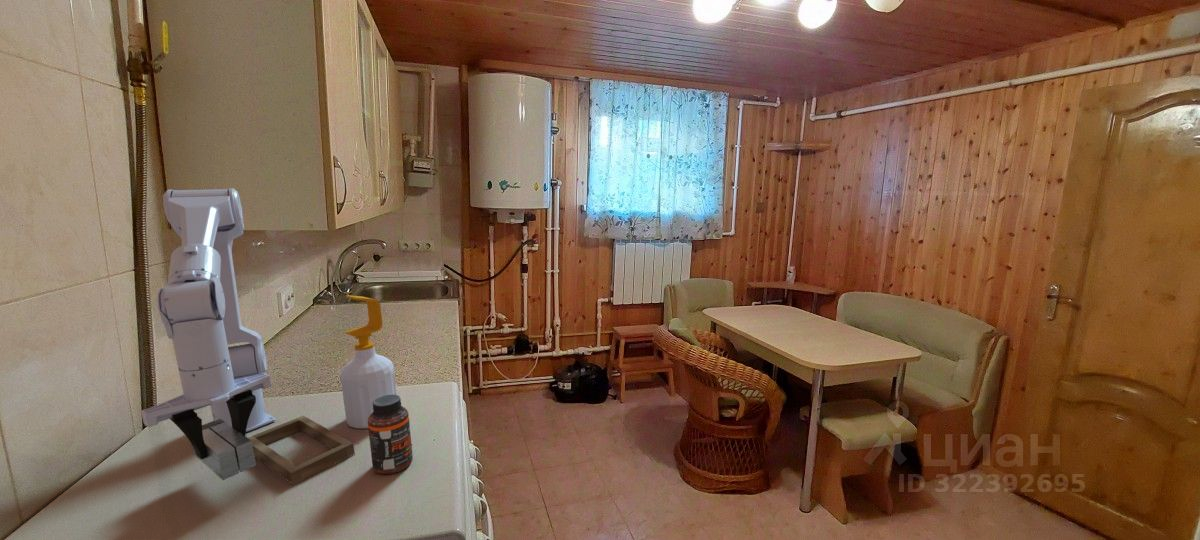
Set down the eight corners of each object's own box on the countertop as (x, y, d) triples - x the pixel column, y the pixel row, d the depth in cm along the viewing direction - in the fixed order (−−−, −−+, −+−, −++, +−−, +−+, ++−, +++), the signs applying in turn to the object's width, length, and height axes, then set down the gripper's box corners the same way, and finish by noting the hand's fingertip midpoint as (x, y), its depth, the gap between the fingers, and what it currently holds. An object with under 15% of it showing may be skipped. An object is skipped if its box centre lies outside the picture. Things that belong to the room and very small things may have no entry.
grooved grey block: (193, 453, 71) (188, 430, 70) (224, 441, 74) (220, 418, 74) (222, 480, 65) (217, 454, 64) (256, 465, 68) (251, 440, 67)
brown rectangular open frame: (246, 449, 79) (244, 439, 79) (304, 425, 87) (303, 415, 87) (293, 484, 70) (291, 473, 69) (354, 454, 77) (353, 443, 77)
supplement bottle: (398, 478, 71) (390, 410, 69) (364, 474, 72) (355, 407, 70) (420, 455, 77) (414, 392, 74) (389, 452, 78) (381, 389, 76)
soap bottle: (337, 421, 88) (320, 296, 84) (382, 402, 96) (369, 286, 91) (362, 435, 83) (345, 303, 79) (408, 413, 91) (395, 292, 86)
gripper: (144, 389, 58) (166, 484, 61) (274, 352, 70) (287, 434, 73) (129, 376, 62) (150, 467, 65) (254, 344, 74) (267, 421, 77)
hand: (221, 448), depth 69 cm, fingers closed on grooved grey block, 4 cm apart
